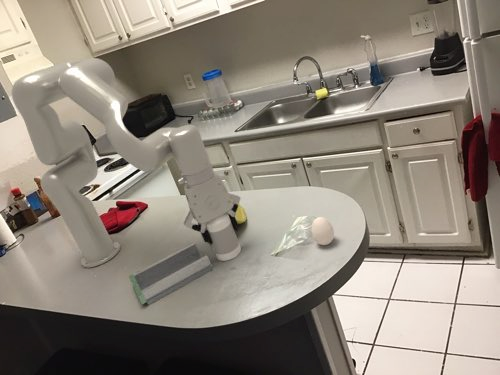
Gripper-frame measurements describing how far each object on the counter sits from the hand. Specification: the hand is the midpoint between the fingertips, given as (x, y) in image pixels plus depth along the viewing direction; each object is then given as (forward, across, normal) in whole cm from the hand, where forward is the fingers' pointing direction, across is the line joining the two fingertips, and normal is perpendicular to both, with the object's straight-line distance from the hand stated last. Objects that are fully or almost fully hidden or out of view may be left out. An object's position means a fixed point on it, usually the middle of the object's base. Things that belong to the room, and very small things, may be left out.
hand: (222, 235), depth 112 cm
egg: (+6, +19, -18) cm, 27 cm away
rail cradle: (+6, -15, +3) cm, 16 cm away
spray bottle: (+6, 0, 0) cm, 6 cm away
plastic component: (+6, +6, +15) cm, 17 cm away
